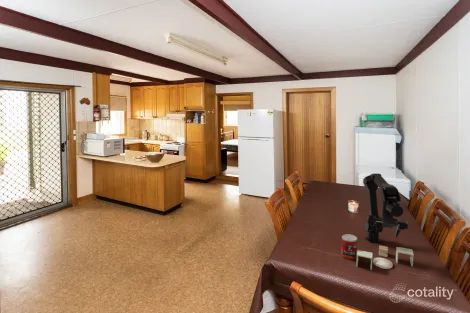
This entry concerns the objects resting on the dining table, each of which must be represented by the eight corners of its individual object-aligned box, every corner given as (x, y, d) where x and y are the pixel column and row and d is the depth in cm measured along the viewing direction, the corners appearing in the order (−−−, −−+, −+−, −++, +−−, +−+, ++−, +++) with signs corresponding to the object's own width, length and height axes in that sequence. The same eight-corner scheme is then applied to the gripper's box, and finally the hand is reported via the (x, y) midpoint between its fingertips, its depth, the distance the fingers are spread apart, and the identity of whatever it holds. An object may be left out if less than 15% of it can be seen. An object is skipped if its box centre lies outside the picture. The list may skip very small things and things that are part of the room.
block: (378, 252, 149) (379, 245, 148) (387, 253, 147) (387, 247, 146) (378, 255, 145) (379, 248, 145) (387, 257, 143) (387, 250, 143)
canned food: (341, 258, 143) (342, 239, 142) (341, 251, 151) (341, 233, 149) (356, 261, 140) (357, 241, 139) (356, 253, 148) (356, 235, 146)
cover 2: (395, 258, 142) (396, 246, 141) (411, 261, 139) (412, 249, 138) (396, 263, 138) (397, 251, 137) (412, 266, 134) (413, 254, 133)
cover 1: (356, 261, 140) (357, 249, 139) (371, 264, 137) (372, 252, 136) (356, 266, 135) (356, 254, 134) (371, 270, 132) (372, 258, 131)
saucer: (368, 260, 141) (369, 258, 140) (383, 258, 142) (383, 256, 142) (381, 270, 132) (381, 268, 132) (396, 267, 134) (397, 265, 133)
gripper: (368, 212, 138) (366, 239, 141) (410, 217, 130) (408, 246, 133) (368, 205, 148) (366, 231, 151) (407, 209, 140) (405, 237, 143)
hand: (385, 236), depth 144 cm, fingers open, 9 cm apart
